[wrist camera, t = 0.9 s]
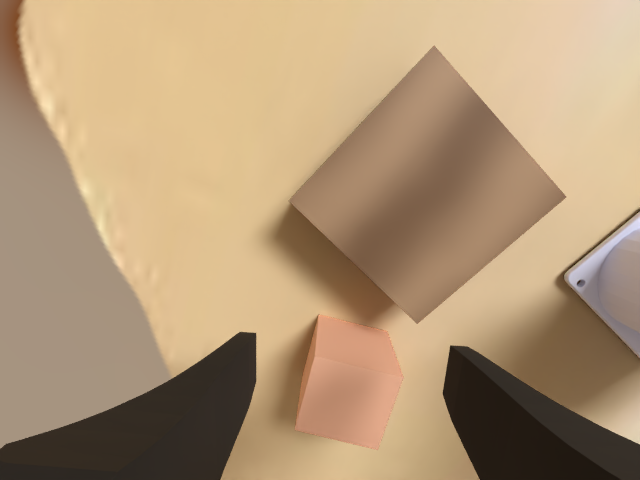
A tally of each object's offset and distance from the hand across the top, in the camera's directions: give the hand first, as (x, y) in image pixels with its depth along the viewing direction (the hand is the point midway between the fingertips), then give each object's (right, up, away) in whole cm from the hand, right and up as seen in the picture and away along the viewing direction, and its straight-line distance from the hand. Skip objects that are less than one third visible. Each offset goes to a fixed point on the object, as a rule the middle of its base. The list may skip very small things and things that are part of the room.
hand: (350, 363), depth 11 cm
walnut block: (+4, +8, +8) cm, 12 cm away
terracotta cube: (+1, -4, +11) cm, 11 cm away
